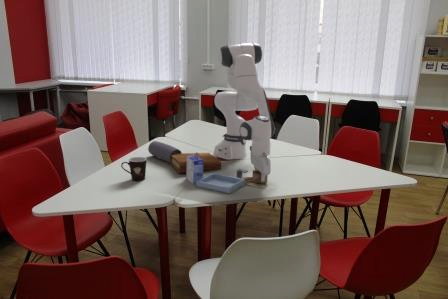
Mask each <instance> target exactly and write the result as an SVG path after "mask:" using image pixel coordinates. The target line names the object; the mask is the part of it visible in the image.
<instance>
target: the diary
mask: <svg viewBox="0 0 448 299" xmlns="http://www.w3.org/2000/svg"><path fill="white" fill-rule="evenodd" d="M197 153H198V154H199V156H198V155H197V154H196V152H194V153H193V152H192V153H190V152H189V153H185V152H182V153H180V154H171V161H172V162H169V165H170V166H171V167H172V168H173V169H174V170H175V171H177V172H178V174H183V173H184V174H185V173H186V174H187V156H195V154H196V156H198V157H199V158H201V159H202V160H203V173H204V172H211V171H219V170H222V161H221V160H220V159H219V158H218V157H216V156H213V155H211V154H212V153H210V152H197Z"/></svg>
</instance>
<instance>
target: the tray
mask: <svg viewBox="0 0 448 299" xmlns="http://www.w3.org/2000/svg"><path fill="white" fill-rule="evenodd" d="M244 186H246V184H245V179H243V178H237V176H236V177H235V176H231V175H226V174H220V173H216V172H212V173H211V174H208V175H206V176H203V178H202V179H199V180H197V181H196V184H195V187H196V188H200V189H205V190H209V191H214V192H218V193H223V194H227V195H231V194H232V193H234V192H235V191H237V190H239V189H240V188H242V187H244Z"/></svg>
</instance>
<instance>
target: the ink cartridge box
mask: <svg viewBox="0 0 448 299" xmlns="http://www.w3.org/2000/svg"><path fill="white" fill-rule="evenodd" d="M195 153H196V154H197V155H198V156H199V154H198V153H199V152H195ZM196 154H195V156H187V173H186V178H187V179H186V180H187V181H188V182H190V184H192V185H194V186H195V185H196V181H197V180H199V179H202V178H204V172H203V160H202V159H201V158H199V157H198V156H196Z"/></svg>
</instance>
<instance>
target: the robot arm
mask: <svg viewBox="0 0 448 299" xmlns="http://www.w3.org/2000/svg"><path fill="white" fill-rule="evenodd" d="M218 59H219V62H220V64H221V65H222V67H226V70H227V71H226V74H227V76H226V78H227V79H226V81H227V84H228V86H229V87H230V88H231V89H233V91H232V90H231V91H230V90H226V91H221V92H220V91H219V92H217V93H216V95H215V96H214V105H215V108H216V109H218V110H219V111H220V112H221V113H222V114H223V116H224V118H225V121H226V122H225V124H226V133H225V134H223V135H222V138H223V140H221V141H220V142H218V143H217V144H216V145H215V146H214V149H213V153H210V154H211V155H213V156H214V157H216V158H221V159H224V160H239V159H240V160H241V159H245V158H247V156H248V155H247V154H248V153H247V148H246V146H247V145H246V143H247V141H251V145H250V146H249V150H250V164H251V165H252V166H253V168H254V169H253V170H259V171H260V172H261V177H260V180H261V181H265V177H266V175H268V176H269V175H270V174H271V170H272V168H271V167H272V166H271V159H270V158H269V156H270V155H271V144H272V143H271V138H273V136H274V135H275V133H276V126H275V123H274V121H273V118H272V113H271V110H270V105H269V100H268V97H267V95H266V91H265V89H264V88H263V87H262V86H261V84H260V81H259V79H258V71H257V64H259V63H261V61H262V59H263V50H262V47H261V45H260V44H259V43H257V42H256V43H255V42H252V43H248V42H247V43H243V42H242V43H235V44H230V45H223V46H221V47H220V49H219V52H218ZM257 109H258V113H259V115H255V116H254V117H253V119H249V120H245V119H244V118H243V117H241V116H240V115H238V114H236V111H237V112H239V111H240V112H241V111H243V112H249V111H255V110H257Z"/></svg>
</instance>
